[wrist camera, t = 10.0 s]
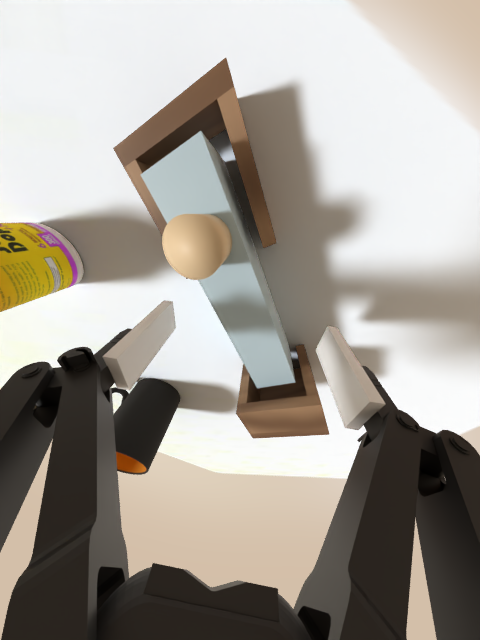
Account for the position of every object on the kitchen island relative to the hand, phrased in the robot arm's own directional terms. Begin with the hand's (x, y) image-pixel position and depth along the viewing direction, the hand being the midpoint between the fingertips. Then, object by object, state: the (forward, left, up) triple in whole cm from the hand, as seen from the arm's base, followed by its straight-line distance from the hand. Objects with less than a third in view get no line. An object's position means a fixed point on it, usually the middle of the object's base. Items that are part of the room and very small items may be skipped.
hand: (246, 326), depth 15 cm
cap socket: (+10, 0, -5) cm, 11 cm away
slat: (-2, 0, -5) cm, 6 cm away
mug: (+11, -24, -5) cm, 27 cm away
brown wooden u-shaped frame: (-10, 0, -5) cm, 11 cm away
